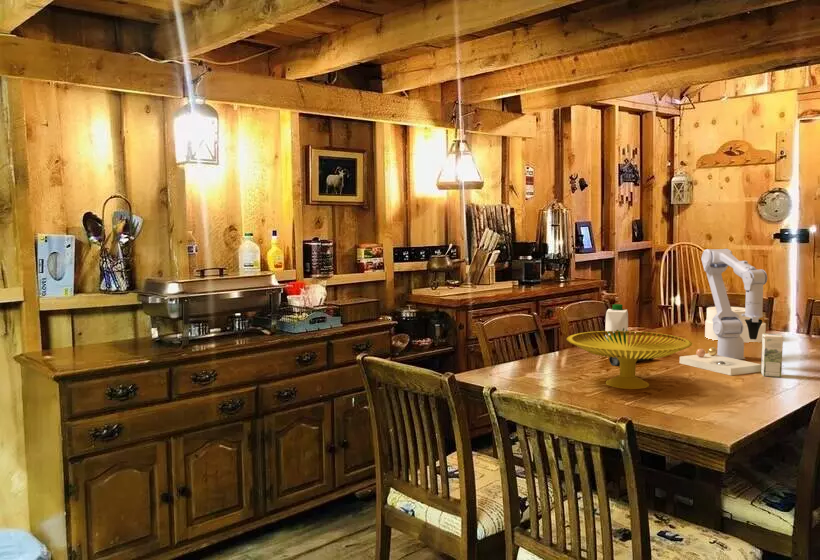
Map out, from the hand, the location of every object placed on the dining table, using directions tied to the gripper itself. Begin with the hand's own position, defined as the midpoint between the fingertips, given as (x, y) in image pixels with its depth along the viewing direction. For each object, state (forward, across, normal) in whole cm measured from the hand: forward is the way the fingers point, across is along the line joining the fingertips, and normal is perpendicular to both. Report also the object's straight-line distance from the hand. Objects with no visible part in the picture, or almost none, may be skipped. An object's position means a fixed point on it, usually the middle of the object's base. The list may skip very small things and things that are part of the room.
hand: (753, 339), depth 258 cm
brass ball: (+6, -5, -13) cm, 16 cm away
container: (+11, -64, -2) cm, 65 cm away
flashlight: (+11, +5, -42) cm, 44 cm away
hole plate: (+10, +4, -11) cm, 16 cm away
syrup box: (+11, +13, +5) cm, 18 cm away
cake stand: (+11, +42, -41) cm, 60 cm away
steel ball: (+9, +9, -11) cm, 17 cm away
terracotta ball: (+6, -1, -18) cm, 19 cm away
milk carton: (+11, -11, -50) cm, 52 cm away
